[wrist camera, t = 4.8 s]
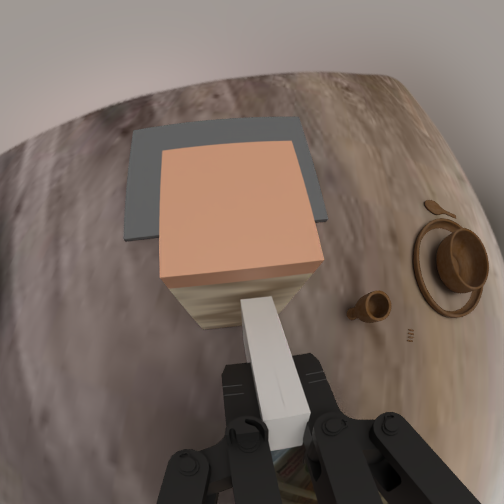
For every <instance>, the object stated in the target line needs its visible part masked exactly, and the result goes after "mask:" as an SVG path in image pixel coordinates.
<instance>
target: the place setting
mask: <svg viewBox="0 0 504 504" xmlns="http://www.w3.org/2000/svg"><path fill="white" fill-rule="evenodd" d="M425 206H426V208H427V209H428V210H429V211H430V212H432V213H433V214H436V215H440V214H446V215H449V216H451V217H453V218H456V215H454V214H452V213H450V212H447V211H445V210H444V209H442V208H441V207H440V206H439V205H438V204H437V203H436V202H435V201H433V200H427V201H425ZM435 228H442V229H446V230H448V231H450V232H452V234H450V235H448V236H447V237H446V238H445V239H444V240H443V241H442V242H441V244H440V246H439V248H438V251H437V257H436V262H437V269H438V273H439V275H440V278H441V279H442V281H443V283H444V284H445V285H446V286H447V287H448V288H449V289H450V290H451V291H453V292H456V293H467V292H471V291H472V294H471V297H470V299H469V300H468V302H467V303H466V305H465V306H463V307H462V308H461V309H459V310H456V311H446V310H443V309H442V308H441V307H440V306H438V305H437V304H436V302H435V301H434V300H433V298H432V297H431V296H430V294H429V292H428V290H427V288H426V286H425V283H424V281H423V278H422V274H421V270H420V263H419V248H420V242H421V240H422V238H423V236H424V235H425V234H426V233H427V232H428V231H430V230H432V229H435ZM414 270H415V275H416V279H417V282H418V285H419V288H420V290H421V292H422V294H423V296H424V297H425V299H426V300H427V302H428V303H429V304H430V305H431V307H432V308H434V309H435V310H436V311H437V312H439V313H440V314H442V315H444V316H447V317H452V318H457V317H463V316H465V315H467V314H469V313H470V312H472V311H473V310H474V308H475V307H476V306H477V304H478V302H479V300H480V298H481V294H482V291H483V285H484V284H485V282H486V280H487V277H488V272H489V262H488V256H487V253H486V250H485V247H484V245H483V243H482V242H481V240H480V239H479V237H478V236H477V235H476V234H475V233H474V232H472V231H471V230H469V229H466V228H462V227H461V226H460V225H459V224H457V223H456V222H454V221H452V220H449V219H444V218H440V219H435V220H433V221H431V222H429V223H428V224H427V225H426V226H425V227H424V228H423V229H422V230H421V232H420V233H419V235H418V238H417V240H416V244H415V248H414ZM390 311H391V301H390V299H389V297H388V295H387V294H386V293H384V292H382V291H373V292H370V293H368V294H366V295H364V296H363V297H361V298H360V299H359V300H358V302H357V304H356V307H354V308H350V309H349V310H348V311H347V317H348V318H349V319H350V320H354V319H356V318H359V319H360V320H361V321H363V322H366V323H373V322H378V321H382V320H384V319H386V318H387V317H388V315H389V314H390ZM408 330H410V331H414V330H411V329H408ZM408 334H411V335H414V334H413V333H408ZM409 338H413V337H409ZM407 341H410V342H413V341H412V340H407Z"/></svg>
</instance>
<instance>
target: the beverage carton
mask: <svg viewBox="0 0 504 504" xmlns="http://www.w3.org/2000/svg"><path fill="white" fill-rule="evenodd" d="M305 452H306V449H305V445H304V442H303V443H302V445H301V446H296V447H291V448H286V449H280V450H274V451H271V455H272V460H273V464H274V469H275V473H276V478H277V482H278V487H279V491H280V496H281V500H282V504H318V501H317V498H316V494H315V491H314V487H313V484H312V480H311V477H310V473H309V470H308V466H307V463H306V464H303V458H304V455H305ZM378 492H379V491H378ZM379 494H380V492H379ZM380 497H381V499H382V502H383V504H388V503H387V501H386V500H385V499H384V497H383V496H382V495H381V494H380Z"/></svg>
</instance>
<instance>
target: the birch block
mask: <svg viewBox="0 0 504 504" xmlns="http://www.w3.org/2000/svg"><path fill="white" fill-rule="evenodd" d="M159 259H160V278H161V280H162V281H163V282H164V283H165V285H166V286H167V287H168V288H169V290H170V291H171V292H172V293H173V295H174V296H175V297H176V298H177V300H178V301H179V302H180V303H181V304H182V306H183V307H184V308H185V309H186V310H187V312H188V313H189V314H190V315H191V316H192V317H193V319H194V320H195V321H196V322H197V323H198V325H199V326H200V327H201V328H202V329H203V330H204V329H214V328H224V327H233V326H242V316H241V301H240V300H241V299H250V298H260V297H269V296H272V299H273V302H274V305H275V308H276V310H277V313H278V314H279V313H280V312H281V311H282V310H283V309H284V308H285V306H286V305H287V304H288V303H289V302H290V301H291V299H292V298H293V297H294V296H295V295H296V293H297V292H298V291H299V290H300V289H301V288H302V286H303V285H304V284H305V283H306V282H307V280H308V279H309V278H310V277H311V275H312V274H313V273H314V272H315V271H316V269H317V268H318V267H319V266H320V264H321V263H322V262H323V261H324V257H323V253H322V249H321V245H320V241H319V236H318V232H317V228H316V225H315V221H314V217H313V213H312V209H311V205H310V202H309V198H308V194H307V191H306V187H305V184H304V180H303V177H302V173H301V170H300V166H299V163H298V160H297V156H296V153H295V150H294V146H293V143H292V141H264V142H244V143H229V144H217V145H206V146H196V147H187V148H179V149H171V150H164V151H162V166H161V185H160V217H159Z"/></svg>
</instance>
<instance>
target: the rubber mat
mask: <svg viewBox="0 0 504 504" xmlns="http://www.w3.org/2000/svg"><path fill="white" fill-rule="evenodd" d="M264 141H292V143H293V146H294V150H295V153H296V156H297V160H298V163H299V166H300V170H301V173H302V177H303V180H304V184H305V187H306V191H307V194H308V198H309V202H310V205H311V209H312V213H313V217H314V221H315V222H326V221H327V220H328V217H327V212H326V209H325V205H324V201H323V197H322V193H321V189H320V186H319V182H318V178H317V175H316V171H315V168H314V164H313V161H312V158H311V154H310V151H309V148H308V144H307V141H306V138H305V135H304V132H303V128H302V125H301V122H300V119H299V117H251V118H232V119H218V120H206V121H196V122H187V123H179V124H171V125H164V126H158V127H151V128H145V129H140V130H134V131H133V137H132V144H131V152H130V160H129V168H128V178H127V189H126V201H125V217H124V240H125V241H133V240H142V239H150V238H159V217H160V185H161V166H162V151H164V150H171V149H179V148H187V147H196V146H206V145H217V144H229V143H244V142H264Z"/></svg>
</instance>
